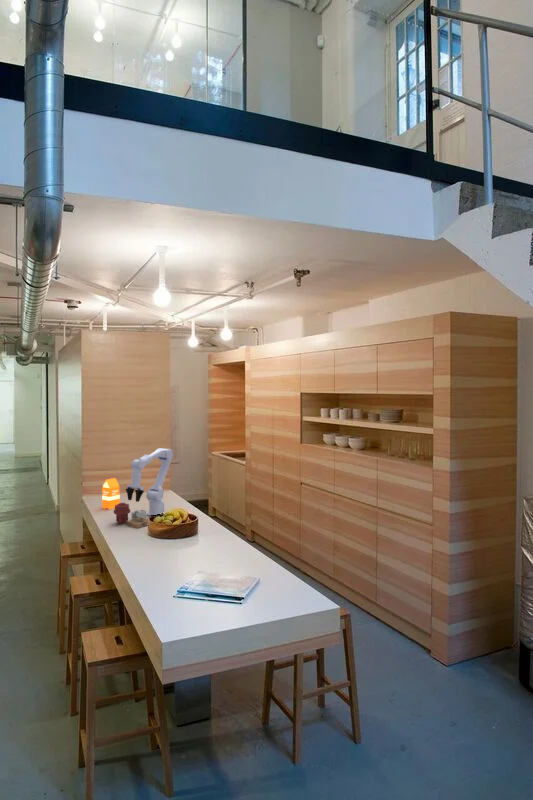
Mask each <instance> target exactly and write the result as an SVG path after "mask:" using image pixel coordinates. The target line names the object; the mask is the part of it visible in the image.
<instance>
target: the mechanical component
mask: <svg viewBox="0 0 533 800" xmlns="http://www.w3.org/2000/svg"><path fill="white" fill-rule="evenodd" d="M129 513H131V509H130V504H129V503H125V502H120V503H119V504H116V505H115V508H114V509H113V514H114V515H115V521H116V524H117V525H123V524H122V523H126V521H129Z"/></svg>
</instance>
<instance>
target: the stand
mask: <svg viewBox="0 0 533 800" xmlns="http://www.w3.org/2000/svg"><path fill="white" fill-rule="evenodd" d="M148 519H149V518H146V519H145V518H141V517H140V518H137V519H133V520H132V519H130V520H129V519H128V521H126V524H125V526H127V525H128V527H131V526H132V528H134V527H135V528H134V529H142V528H143V527H148V526H147V524H148Z"/></svg>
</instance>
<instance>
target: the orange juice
mask: <svg viewBox="0 0 533 800" xmlns="http://www.w3.org/2000/svg"><path fill="white" fill-rule="evenodd" d="M101 488H102V489H101V491H102V493H101V497H102V502H101V503H102V504H101V506H102V509H105V508H108V509H107V510H112V509H111V508H113V509H115V505H116V504H119V503H121V501H120V499H121V495H120V494H121V493H120V484H119V483H118V481H117V479H116V477H113V478H107V479H105V481H104V482H103V485H102V487H101Z"/></svg>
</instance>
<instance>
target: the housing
mask: <svg viewBox="0 0 533 800" xmlns="http://www.w3.org/2000/svg"><path fill="white" fill-rule="evenodd" d="M140 517H141V518H145V519H147V510H143V509H139V510H134V511H132V512H131V520H133V519H137V518H140Z"/></svg>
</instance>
